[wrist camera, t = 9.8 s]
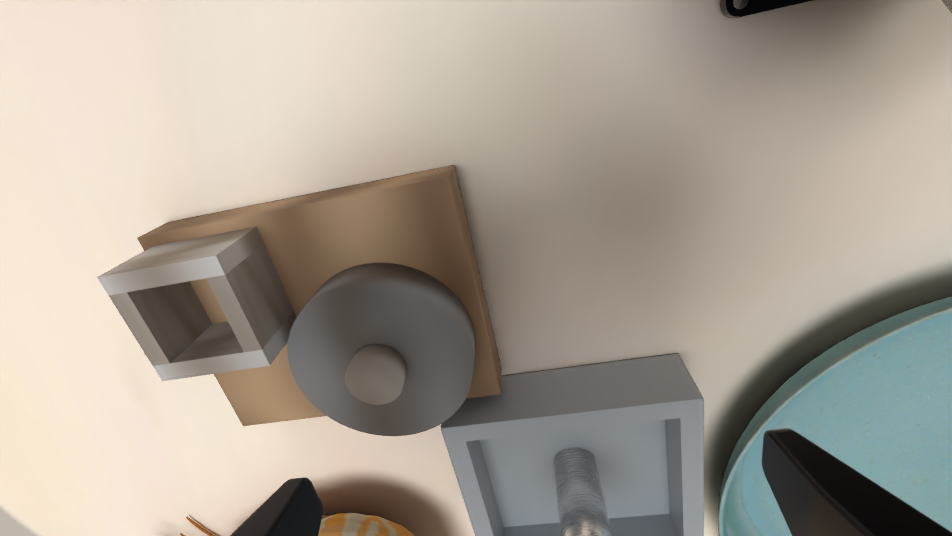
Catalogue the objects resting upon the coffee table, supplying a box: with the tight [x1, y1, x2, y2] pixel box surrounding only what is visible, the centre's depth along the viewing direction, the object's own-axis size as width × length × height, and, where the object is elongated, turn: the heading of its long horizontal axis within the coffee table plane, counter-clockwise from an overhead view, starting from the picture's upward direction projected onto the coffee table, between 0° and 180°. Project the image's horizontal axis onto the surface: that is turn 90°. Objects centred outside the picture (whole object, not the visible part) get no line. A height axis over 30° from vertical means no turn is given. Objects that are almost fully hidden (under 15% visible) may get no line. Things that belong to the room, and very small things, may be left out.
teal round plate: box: [718, 297, 952, 536], centre depth 24 cm, size 24×24×3 cm
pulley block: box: [97, 165, 501, 436], centre depth 21 cm, size 14×11×5 cm
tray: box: [441, 353, 704, 536], centre depth 25 cm, size 12×12×3 cm
